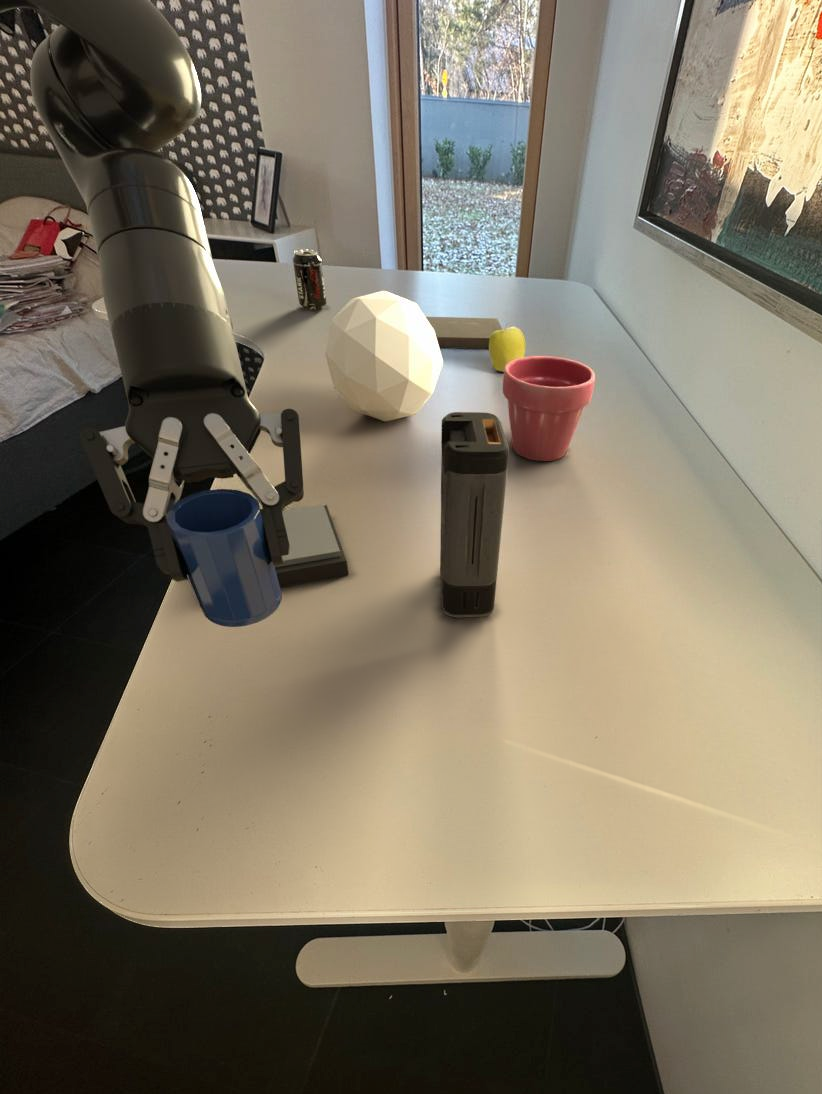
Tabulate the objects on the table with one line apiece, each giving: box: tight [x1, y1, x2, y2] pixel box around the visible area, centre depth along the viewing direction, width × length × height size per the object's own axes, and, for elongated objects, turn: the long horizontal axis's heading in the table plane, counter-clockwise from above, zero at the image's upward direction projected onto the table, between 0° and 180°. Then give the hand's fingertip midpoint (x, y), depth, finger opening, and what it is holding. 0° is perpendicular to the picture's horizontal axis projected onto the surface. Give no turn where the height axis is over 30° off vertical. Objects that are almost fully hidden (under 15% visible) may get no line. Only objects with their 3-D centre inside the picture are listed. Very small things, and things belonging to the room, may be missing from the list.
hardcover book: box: [425, 316, 503, 350], centre depth 134 cm, size 16×23×2 cm
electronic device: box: [439, 411, 510, 618], centre depth 61 cm, size 9×6×20 cm, turn 6°
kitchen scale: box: [275, 503, 349, 588], centre depth 70 cm, size 15×13×3 cm
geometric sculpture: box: [325, 290, 444, 422], centre depth 96 cm, size 19×20×20 cm
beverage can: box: [292, 249, 327, 311], centre depth 142 cm, size 7×7×12 cm
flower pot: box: [502, 355, 596, 462], centre depth 91 cm, size 14×14×13 cm
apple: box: [488, 324, 526, 373], centre depth 119 cm, size 8×8×10 cm
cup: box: [167, 488, 283, 628], centre depth 41 cm, size 6×6×8 cm
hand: (230, 570), depth 39 cm, fingers closed on cup, 6 cm apart
